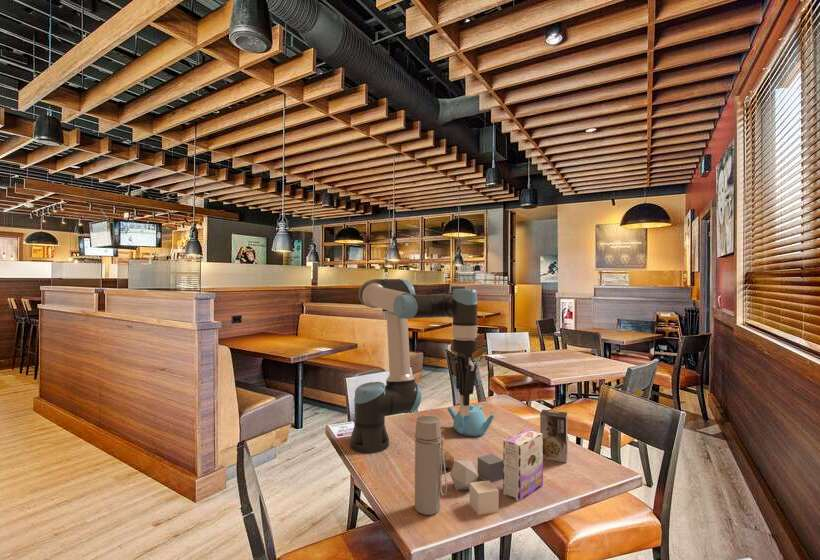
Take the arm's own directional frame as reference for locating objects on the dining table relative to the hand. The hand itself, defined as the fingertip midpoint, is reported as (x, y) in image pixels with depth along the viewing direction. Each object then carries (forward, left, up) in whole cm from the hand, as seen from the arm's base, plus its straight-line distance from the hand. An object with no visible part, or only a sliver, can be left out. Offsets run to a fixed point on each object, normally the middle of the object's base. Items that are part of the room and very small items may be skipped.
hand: (464, 414), depth 127 cm
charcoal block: (-4, +11, -23) cm, 25 cm away
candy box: (+6, +17, -23) cm, 29 cm away
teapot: (-44, +21, -23) cm, 54 cm away
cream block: (+12, +1, -23) cm, 25 cm away
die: (0, 0, -23) cm, 23 cm away
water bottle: (+9, -14, -23) cm, 28 cm away
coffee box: (-12, +40, -23) cm, 48 cm away
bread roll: (-15, -3, -23) cm, 28 cm away
